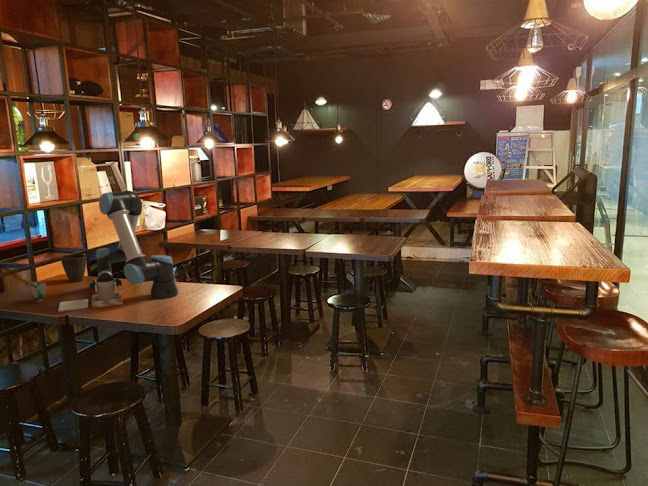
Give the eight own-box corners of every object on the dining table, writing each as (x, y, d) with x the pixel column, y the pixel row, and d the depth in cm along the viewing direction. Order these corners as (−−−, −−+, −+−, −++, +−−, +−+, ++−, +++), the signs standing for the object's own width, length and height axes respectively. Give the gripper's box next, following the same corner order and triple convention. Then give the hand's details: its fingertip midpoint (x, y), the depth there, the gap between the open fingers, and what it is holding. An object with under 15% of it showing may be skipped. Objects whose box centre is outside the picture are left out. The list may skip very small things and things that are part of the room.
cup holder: (121, 296, 283) (120, 291, 282) (122, 303, 269) (122, 298, 269) (92, 300, 277) (92, 294, 276) (92, 307, 263) (91, 302, 263)
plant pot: (60, 280, 318) (57, 256, 315) (84, 276, 328) (82, 252, 324) (67, 285, 307) (64, 260, 304) (92, 280, 317) (89, 256, 314)
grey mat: (88, 300, 276) (88, 298, 276) (88, 307, 263) (87, 306, 263) (60, 304, 270) (59, 302, 270) (58, 311, 258) (58, 309, 258)
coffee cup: (109, 305, 268) (107, 278, 265) (94, 304, 270) (92, 277, 267) (119, 299, 276) (117, 273, 274) (105, 299, 278) (102, 273, 275)
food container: (51, 301, 275) (49, 284, 273) (39, 304, 271) (36, 286, 269) (43, 296, 284) (41, 280, 282) (31, 299, 279) (29, 282, 277)
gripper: (125, 282, 292) (128, 292, 272) (85, 287, 284) (84, 297, 264) (124, 270, 291) (126, 279, 271) (83, 274, 282) (83, 284, 262)
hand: (106, 288), depth 267 cm, fingers closed on coffee cup, 9 cm apart
